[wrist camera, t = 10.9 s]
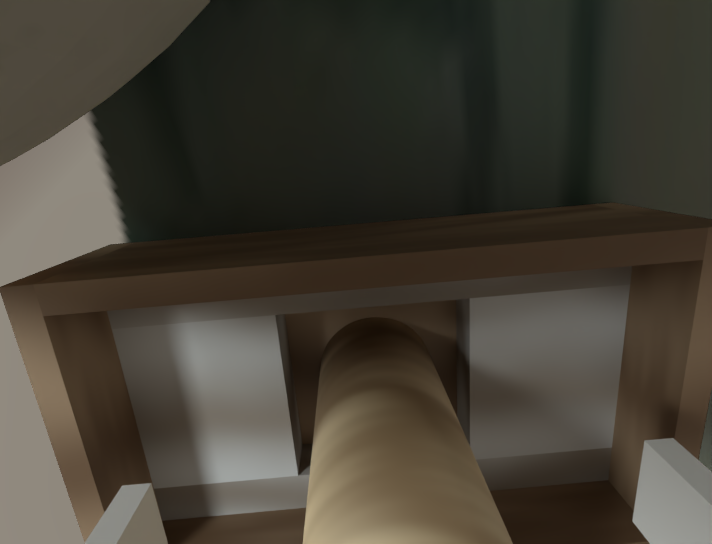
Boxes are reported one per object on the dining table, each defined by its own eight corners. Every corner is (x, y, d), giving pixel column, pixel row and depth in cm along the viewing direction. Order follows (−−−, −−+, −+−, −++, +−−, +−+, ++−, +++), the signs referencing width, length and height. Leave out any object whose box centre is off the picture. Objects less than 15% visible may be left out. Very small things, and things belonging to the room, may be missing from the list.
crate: (110, 244, 18) (-2, 287, 12) (613, 202, 18) (741, 224, 12) (171, 488, 21) (108, 611, 16) (589, 450, 22) (680, 558, 16)
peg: (325, 419, 19) (303, 812, 8) (315, 322, 18) (266, 622, 6) (431, 410, 19) (563, 786, 8) (427, 312, 18) (583, 592, 6)
